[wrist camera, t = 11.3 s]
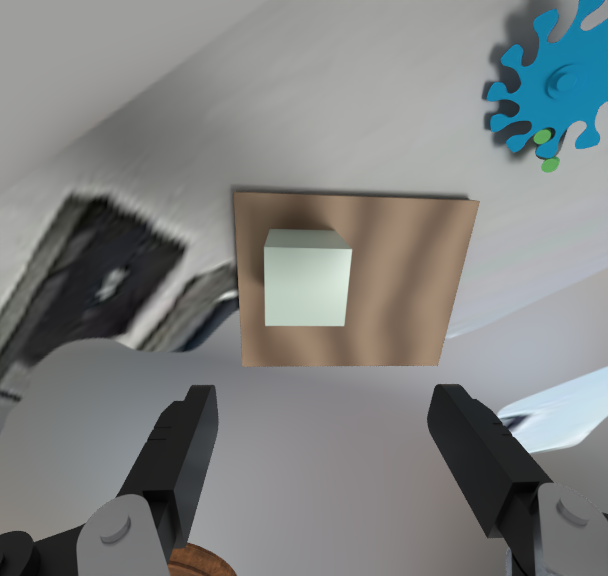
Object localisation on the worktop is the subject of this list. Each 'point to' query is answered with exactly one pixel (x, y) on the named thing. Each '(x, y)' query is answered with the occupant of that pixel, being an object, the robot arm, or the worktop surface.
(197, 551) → the cutting board
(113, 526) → the robot arm
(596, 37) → the gear
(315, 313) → the pale green block
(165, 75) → the worktop surface
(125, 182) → the worktop surface
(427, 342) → the board
